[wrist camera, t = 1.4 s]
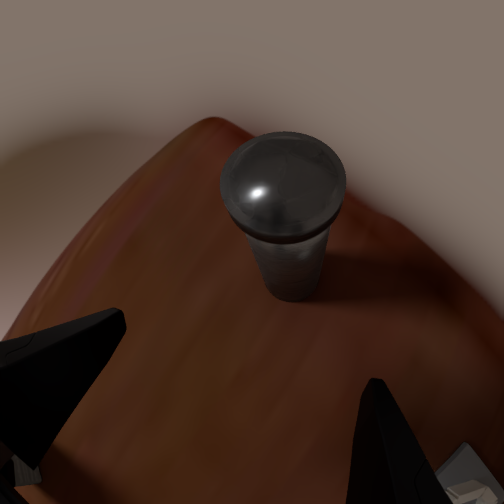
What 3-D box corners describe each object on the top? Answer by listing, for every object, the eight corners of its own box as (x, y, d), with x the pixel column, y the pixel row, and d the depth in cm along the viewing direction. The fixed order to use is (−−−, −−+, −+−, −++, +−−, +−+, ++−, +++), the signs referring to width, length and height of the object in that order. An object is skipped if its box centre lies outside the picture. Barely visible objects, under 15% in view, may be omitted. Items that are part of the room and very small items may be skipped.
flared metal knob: (288, 318, 22) (275, 261, 10) (247, 272, 24) (196, 176, 12) (335, 277, 22) (371, 180, 10) (294, 234, 24) (286, 116, 12)
